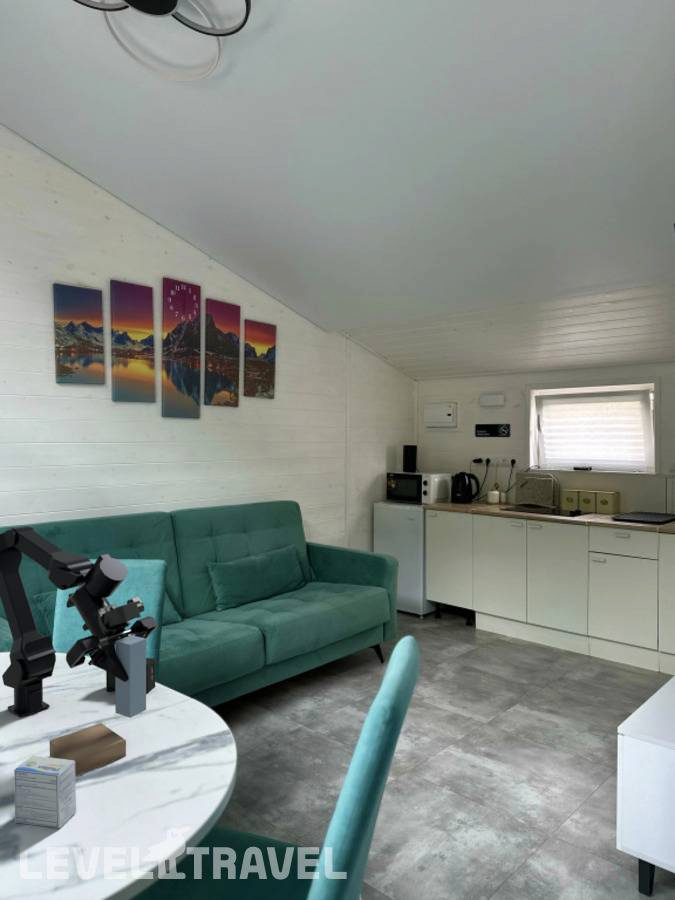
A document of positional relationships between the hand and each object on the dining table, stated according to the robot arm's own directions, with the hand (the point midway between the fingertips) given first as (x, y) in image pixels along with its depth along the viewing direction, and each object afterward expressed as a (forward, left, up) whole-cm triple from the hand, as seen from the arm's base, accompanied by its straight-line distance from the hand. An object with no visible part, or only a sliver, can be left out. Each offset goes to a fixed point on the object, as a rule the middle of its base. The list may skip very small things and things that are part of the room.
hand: (135, 676), depth 122 cm
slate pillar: (-1, 0, -7) cm, 7 cm away
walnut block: (-3, -8, -13) cm, 16 cm away
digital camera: (-25, +14, -14) cm, 32 cm away
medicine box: (+10, -22, -14) cm, 28 cm away
